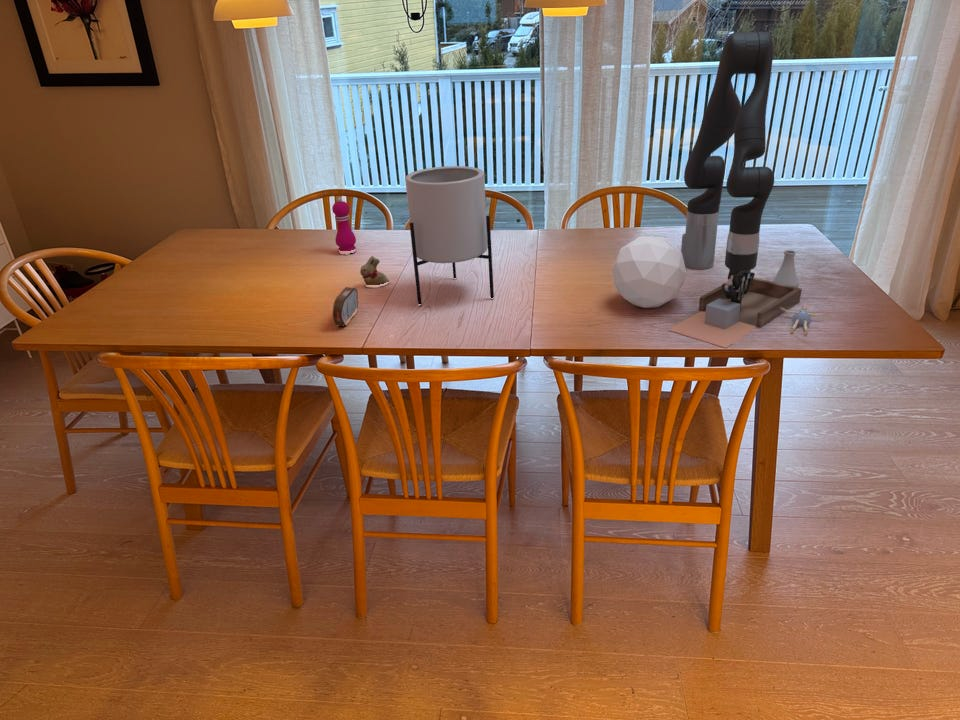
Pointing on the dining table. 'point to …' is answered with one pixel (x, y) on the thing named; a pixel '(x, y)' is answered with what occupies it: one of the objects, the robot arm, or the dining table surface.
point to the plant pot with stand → (448, 217)
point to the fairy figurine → (802, 318)
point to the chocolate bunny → (372, 273)
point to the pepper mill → (343, 226)
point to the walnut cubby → (759, 301)
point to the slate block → (722, 313)
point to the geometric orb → (649, 271)
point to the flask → (787, 270)
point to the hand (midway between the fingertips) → (734, 311)
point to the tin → (345, 305)
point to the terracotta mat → (711, 330)
